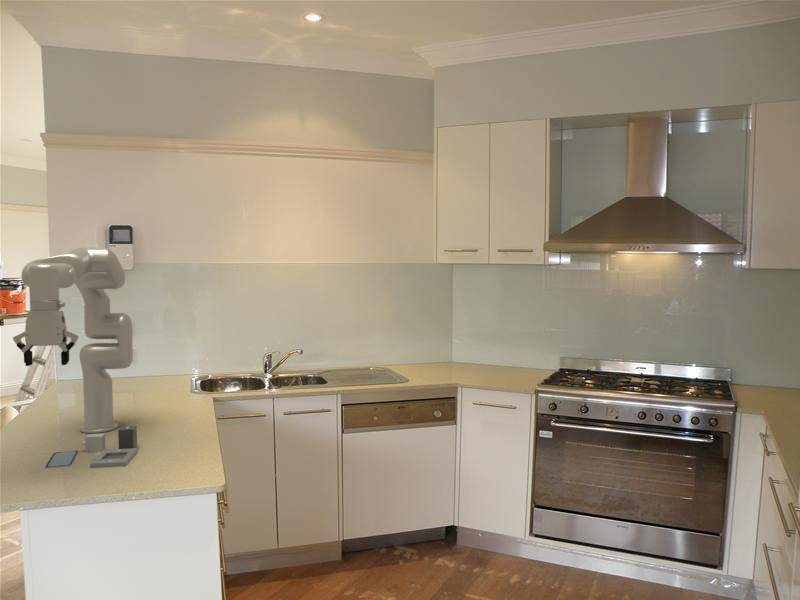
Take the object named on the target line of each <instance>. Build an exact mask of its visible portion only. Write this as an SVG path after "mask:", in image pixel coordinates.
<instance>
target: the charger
mask: <svg viewBox="0 0 800 600" xmlns="http://www.w3.org/2000/svg"><path fill="white" fill-rule="evenodd" d="M117 431H118V435H117V436H118V449H130V448H138V434H137V433H138V432H137V431H138V430H137V425H127V426H126V425H123V426H121V427H120V428H119V429H117Z"/></svg>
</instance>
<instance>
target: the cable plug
mask: <svg viewBox="0 0 800 600" xmlns="http://www.w3.org/2000/svg"><path fill="white" fill-rule="evenodd" d="M81 444H82V447H84V446H85V447H84V449H85V450H84V451H85V453H100V452H99V451H102V452H103V451H104V450H106V433H87V435H86V436H84V441H83V442H82V443H81ZM97 451H98V452H97Z"/></svg>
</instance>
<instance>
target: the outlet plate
mask: <svg viewBox="0 0 800 600" xmlns="http://www.w3.org/2000/svg"><path fill="white" fill-rule="evenodd" d="M138 449H139V448H138V447H136V448H130V449H119V448H110V449H108V448H107V449H104V450H103V451H102V452H101V453H100V454H98V455H97V456H96V458H95V459H93V461H91V462H90V464H89V467H90V468H109V467H111V468H114V467H127V465H128V464H129V463H130V462H131V460H132V459H133V458H134V457H135V455H136V454H138V452H139V450H138Z"/></svg>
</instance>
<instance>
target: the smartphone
mask: <svg viewBox="0 0 800 600" xmlns="http://www.w3.org/2000/svg"><path fill="white" fill-rule="evenodd" d="M79 451H80V450H77V449H76V450H65V451H56V452H54V453H52V455H51V456H50V458H49V460H48V461H47V463H46V464H45V466H44V469H55V468H65V467H67V466H68V467H71V466H73V464H74V462H75V460H76V459H75V458H77V457H78V455H79Z"/></svg>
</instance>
